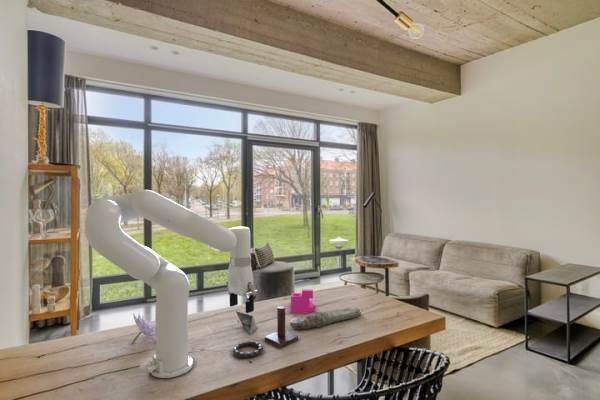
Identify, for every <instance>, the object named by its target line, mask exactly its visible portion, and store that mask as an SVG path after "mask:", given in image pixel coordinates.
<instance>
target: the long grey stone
mask: <svg viewBox="0 0 600 400" xmlns="http://www.w3.org/2000/svg"><path fill="white" fill-rule="evenodd" d="M361 315H362V312H361V309H360V308H358V307H344V308H339V309H332V310H328V311H320V310H319V311H313V313H304V314H303V315H300V316H297V317H295V318H292V319H291V320H290V322H289V326H290V327H291V328H293V329H297V330H299V329H300V330H301V329H313V328H320V327H323V326H326V325H329V324H332V323H334V322H341V321H344V320H351V319H355V318H358V317H359V316H361Z"/></svg>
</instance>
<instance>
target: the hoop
mask: <svg viewBox="0 0 600 400" xmlns="http://www.w3.org/2000/svg"><path fill="white" fill-rule="evenodd" d="M244 347H245V348H246V347H255V348H257V349H256V350H254V351H252V352H241V351H239V350H240V349H242V348H244ZM232 351H233V355H234V356H236V357H237V358H240V359H253V358H255V357H257V356H260V355H261V354H262V352H263V351H264V347H263V344H262V343H260V342H258V341H253V340H252V341H251V340H248V341H242V342H240V343H238V344H236V345H235V346H234V347H233V349H232Z"/></svg>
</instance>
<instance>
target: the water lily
mask: <svg viewBox="0 0 600 400" xmlns="http://www.w3.org/2000/svg"><path fill="white" fill-rule="evenodd" d="M137 314H138V315H137V316H136V315H135V314H134V313H133V314H132V315H133V319H134V323H135V325H136V327H137V328H138V329H139V331H140V332H139V333H138V334H137V335H136V336H135V338H134V339H133V341H132V342H131V343H132V344H135V343H136V340H137V339H138V338H139V337H140V335H141V334H143V335H144V336H145V337H146V338H148V339H150V341H154V342H156V337H153V336H156V325H153V326H152V325H150V319H149V318H147V319H146V320H144V319H145V317H144V316H142V317H141V315H140V313H137Z"/></svg>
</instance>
